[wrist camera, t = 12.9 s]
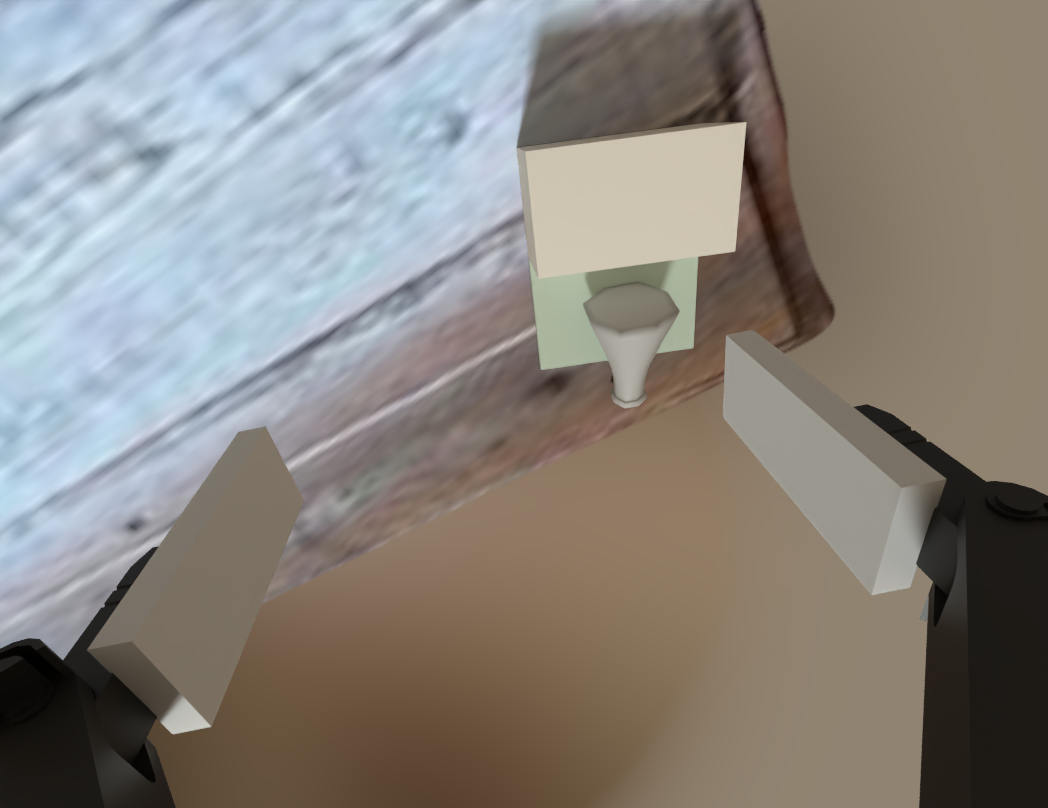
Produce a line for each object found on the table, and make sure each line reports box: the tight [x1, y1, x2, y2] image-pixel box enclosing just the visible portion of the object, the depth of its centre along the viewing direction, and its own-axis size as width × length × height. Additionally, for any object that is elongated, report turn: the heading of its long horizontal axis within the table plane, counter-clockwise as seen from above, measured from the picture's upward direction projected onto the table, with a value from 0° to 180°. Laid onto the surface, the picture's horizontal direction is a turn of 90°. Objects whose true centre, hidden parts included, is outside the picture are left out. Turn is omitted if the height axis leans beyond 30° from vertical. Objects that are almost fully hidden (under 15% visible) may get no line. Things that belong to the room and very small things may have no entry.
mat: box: [528, 257, 698, 370], centre depth 44 cm, size 10×14×1 cm
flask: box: [583, 281, 680, 408], centre depth 43 cm, size 7×7×10 cm
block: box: [517, 122, 746, 279], centre depth 37 cm, size 8×14×7 cm, turn 96°
